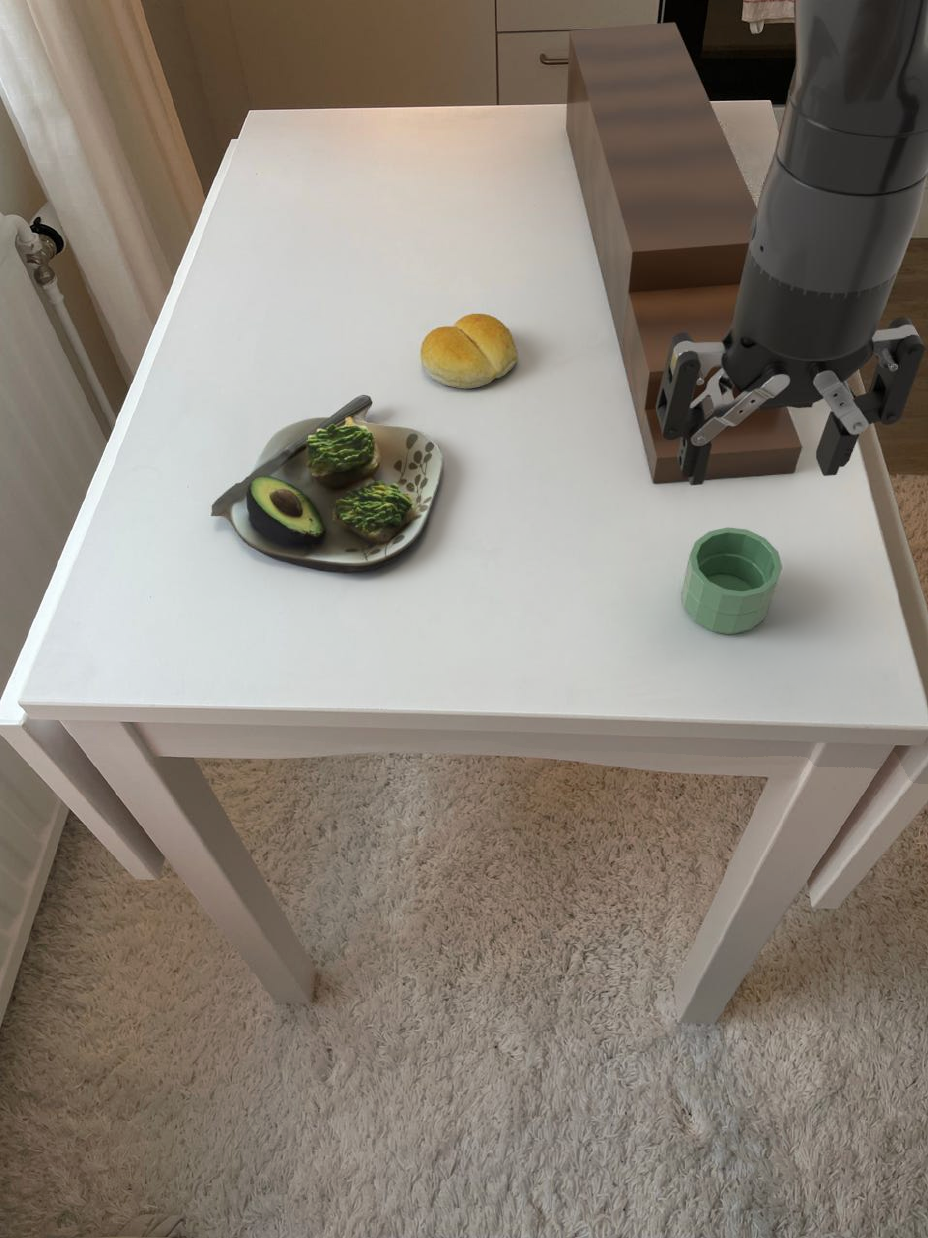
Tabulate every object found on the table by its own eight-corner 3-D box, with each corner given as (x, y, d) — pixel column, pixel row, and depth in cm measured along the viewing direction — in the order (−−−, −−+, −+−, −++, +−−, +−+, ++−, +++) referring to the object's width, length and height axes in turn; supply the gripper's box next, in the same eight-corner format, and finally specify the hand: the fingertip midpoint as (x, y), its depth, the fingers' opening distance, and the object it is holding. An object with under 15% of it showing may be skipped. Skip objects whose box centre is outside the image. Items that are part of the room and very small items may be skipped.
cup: (776, 584, 74) (790, 541, 70) (754, 648, 70) (768, 607, 66) (695, 560, 75) (705, 517, 71) (670, 621, 72) (678, 580, 68)
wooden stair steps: (794, 473, 81) (828, 368, 72) (652, 483, 81) (669, 380, 72) (663, 120, 117) (675, 21, 108) (565, 127, 117) (569, 30, 108)
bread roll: (407, 357, 92) (403, 323, 89) (486, 325, 95) (485, 290, 91) (449, 405, 88) (446, 370, 85) (531, 370, 90) (532, 335, 87)
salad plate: (287, 397, 90) (277, 357, 86) (470, 426, 86) (468, 385, 82) (199, 550, 79) (183, 512, 75) (404, 590, 75) (398, 552, 71)
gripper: (701, 298, 46) (659, 522, 59) (994, 276, 46) (888, 506, 59) (672, 212, 51) (639, 439, 64) (939, 193, 51) (851, 423, 64)
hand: (759, 471), depth 61 cm, fingers open, 8 cm apart
